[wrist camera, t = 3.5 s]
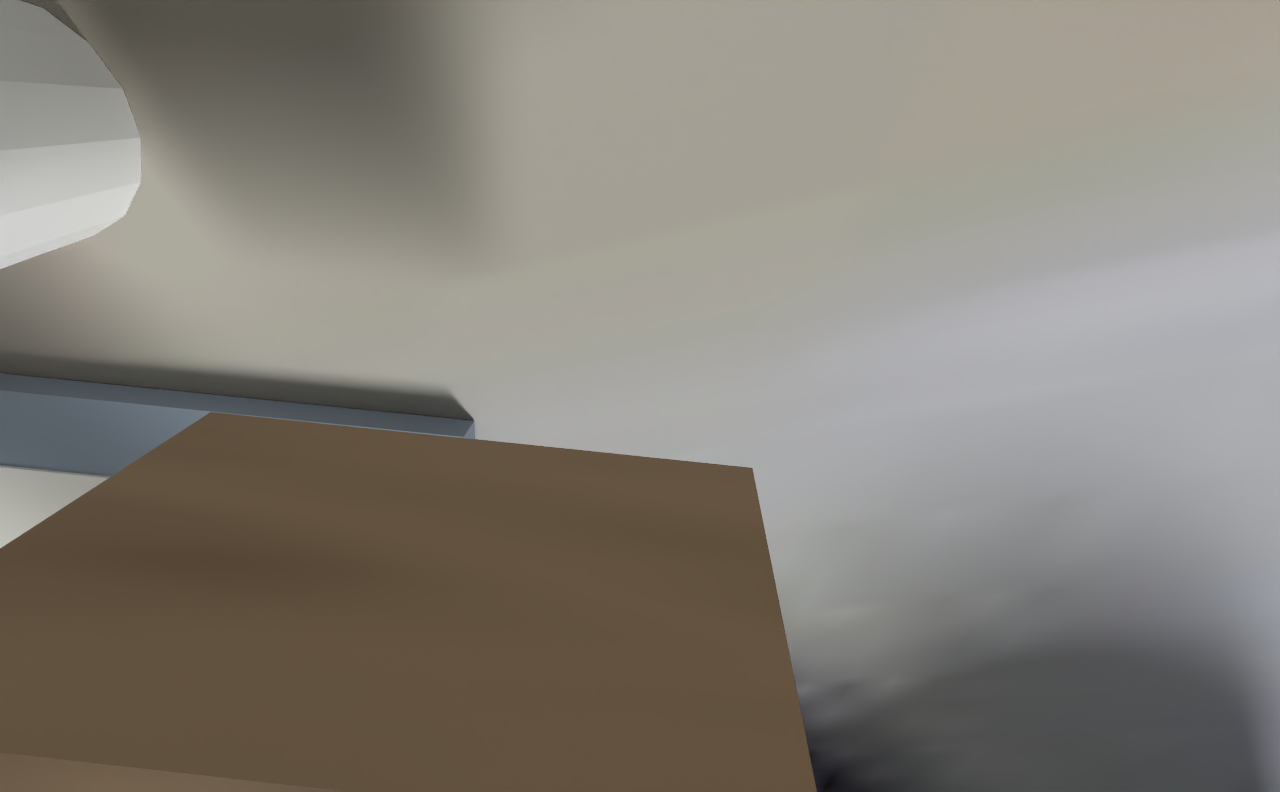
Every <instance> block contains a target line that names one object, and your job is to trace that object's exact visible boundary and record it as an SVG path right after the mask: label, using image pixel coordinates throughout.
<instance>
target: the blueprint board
mask: <svg viewBox="0 0 1280 792" xmlns="http://www.w3.org/2000/svg"><path fill="white" fill-rule="evenodd" d="M210 412H216V413H225V414H235V415H245V416H254V417H264V418H274V419H283V420H293V421H303V422H312V423H322V424H332V425H341V426H351V427H361V428H370V429H380V430H390V431H399V432H409V433H419V434H428V435H438V436H448V437H457V438H467V439H475V435H474V421H471V420H461V419H451V418H441V417H431V416H421V415H411V414H401V413H391V412H381V411H371V410H361V409H351V408H341V407H331V406H321V405H311V404H301V403H292V402H282V401H272V400H262V399H252V398H242V397H232V396H222V395H212V394H202V393H192V392H182V391H172V390H162V389H152V388H142V387H132V386H122V385H112V384H102V383H92V382H82V381H72V380H62V379H52V378H42V377H32V376H22V375H12V374H2V373H0V548H2V547H3V546H5V545H6V544H8V543H9V542H11V541H12V540H14V539H16V538H17V537H19V536H20V535H22V534H23V533H25V532H26V531H28V530H29V529H31V528H33V527H34V526H36V525H37V524H39V523H40V522H42V521H43V520H45V519H46V518H48V517H49V516H51V515H53V514H54V513H56V512H57V511H59V510H60V509H62V508H63V507H65V506H66V505H68V504H70V503H71V502H73V501H74V500H76V499H77V498H79V497H80V496H82V495H83V494H85V493H87V492H88V491H90V490H91V489H93V488H94V487H96V486H97V485H99V484H100V483H102V482H103V481H105V480H107V479H108V478H110V477H111V476H113V475H114V474H116V473H117V472H119V471H120V470H122V469H124V468H125V467H127V466H128V465H130V464H131V463H133V462H134V461H136V460H137V459H139V458H140V457H142V456H144V455H145V454H147V453H148V452H150V451H151V450H153V449H154V448H156V447H157V446H159V445H161V444H162V443H164V442H165V441H167V440H168V439H170V438H171V437H173V436H174V435H176V434H178V433H179V432H181V431H182V430H184V429H185V428H187V427H188V426H190V425H191V424H193V423H194V422H196V421H198V420H199V419H201V418H202V417H204V416H205V415H207V414H208V413H210Z"/></svg>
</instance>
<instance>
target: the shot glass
mask: <svg viewBox="0 0 1280 792" xmlns="http://www.w3.org/2000/svg"><path fill="white" fill-rule="evenodd" d="M140 183H141V137H140V134H139V132H138V129H137V126H136V123H135V121H134V118H133V115H132V112H131V110H130V107H129V104H128V102H127V99H126V96H125V93H124V91H123V88H122V87H121V86H120V84H119V83H118V82H117V80H116V79H115V78H114V76H113V75H112V74H111V72H110V71H109V69H108V68H107V67H106V65H105V64H104V63H103V61H102V60H101V59H100V57H99V56H98V55H97V53H96V52H95V51H94V49H93V48H92V47H91V45H90V44H89V43H88V42H87V41H86V40H84V39H83V38H82V37H80V36H79V35H78V34H76V33H75V32H74V31H73V30H71V29H70V28H69V27H67V26H66V25H65V24H63V23H62V22H61V21H59V20H58V19H57V18H55V17H54V16H53V15H52V14H50V13H49V12H48V11H46V10H45V9H44V8H41V7H38V6H35V5H32V4H29V3H26V2H23V1H20V0H0V269H2V268H5V267H8V266H10V265H13V264H16V263H19V262H21V261H24V260H27V259H30V258H33V257H35V256H38V255H41V254H44V253H46V252H49V251H52V250H55V249H57V248H60V247H63V246H66V245H69V244H71V243H74V242H77V241H80V240H82V239H85V238H88V237H91V236H94V235H96V234H97V233H99V232H101V231H102V230H104V229H105V228H107V227H108V226H110V225H111V224H113V223H114V222H116V221H117V220H119V219H120V218H122V217H123V216H125V214H126V212H127V210H128V208H129V206H130V204H131V202H132V200H133V198H134V195H135V193H136V191H137V189H138V187H139V185H140Z"/></svg>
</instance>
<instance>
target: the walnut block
mask: <svg viewBox="0 0 1280 792" xmlns="http://www.w3.org/2000/svg"><path fill="white" fill-rule="evenodd" d="M0 792H817V790H816V785H815V780H814V775H813V770H812V765H811V760H810V755H809V750H808V745H807V740H806V735H805V730H804V725H803V720H802V715H801V710H800V705H799V700H798V695H797V690H796V685H795V680H794V675H793V670H792V665H791V660H790V655H789V650H788V645H787V640H786V635H785V630H784V625H783V620H782V615H781V610H780V605H779V600H778V595H777V590H776V585H775V580H774V575H773V570H772V565H771V560H770V555H769V550H768V545H767V540H766V535H765V530H764V525H763V520H762V515H761V510H760V505H759V500H758V495H757V490H756V485H755V480H754V475H753V470H752V468H747V467H737V466H728V465H718V464H708V463H699V462H689V461H679V460H670V459H660V458H650V457H641V456H631V455H621V454H612V453H602V452H592V451H583V450H573V449H564V448H554V447H544V446H535V445H525V444H515V443H506V442H496V441H486V440H477V439H467V438H457V437H448V436H438V435H428V434H419V433H409V432H399V431H390V430H380V429H370V428H361V427H351V426H341V425H332V424H322V423H312V422H303V421H293V420H283V419H274V418H264V417H254V416H245V415H235V414H225V413H216V412H210V413H208V414H207V415H205V416H204V417H202V418H201V419H199V420H198V421H196V422H194V423H193V424H191V425H190V426H188V427H187V428H185V429H184V430H182V431H181V432H179V433H178V434H176V435H174V436H173V437H171V438H170V439H168V440H167V441H165V442H164V443H162V444H161V445H159V446H157V447H156V448H154V449H153V450H151V451H150V452H148V453H147V454H145V455H144V456H142V457H140V458H139V459H137V460H136V461H134V462H133V463H131V464H130V465H128V466H127V467H125V468H124V469H122V470H120V471H119V472H117V473H116V474H114V475H113V476H111V477H110V478H108V479H107V480H105V481H103V482H102V483H100V484H99V485H97V486H96V487H94V488H93V489H91V490H90V491H88V492H87V493H85V494H83V495H82V496H80V497H79V498H77V499H76V500H74V501H73V502H71V503H70V504H68V505H66V506H65V507H63V508H62V509H60V510H59V511H57V512H56V513H54V514H53V515H51V516H49V517H48V518H46V519H45V520H43V521H42V522H40V523H39V524H37V525H36V526H34V527H33V528H31V529H29V530H28V531H26V532H25V533H23V534H22V535H20V536H19V537H17V538H16V539H14V540H12V541H11V542H9V543H8V544H6V545H5V546H3V547H2V548H0Z"/></svg>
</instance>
